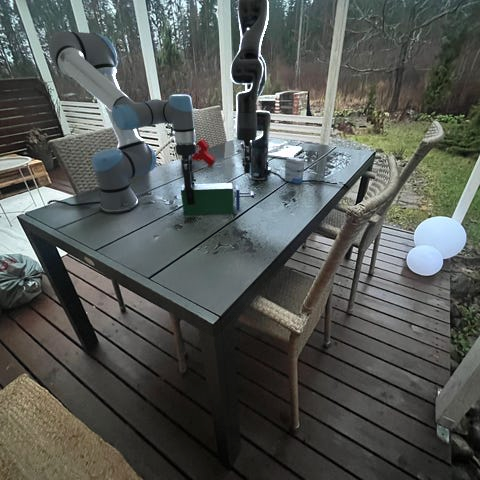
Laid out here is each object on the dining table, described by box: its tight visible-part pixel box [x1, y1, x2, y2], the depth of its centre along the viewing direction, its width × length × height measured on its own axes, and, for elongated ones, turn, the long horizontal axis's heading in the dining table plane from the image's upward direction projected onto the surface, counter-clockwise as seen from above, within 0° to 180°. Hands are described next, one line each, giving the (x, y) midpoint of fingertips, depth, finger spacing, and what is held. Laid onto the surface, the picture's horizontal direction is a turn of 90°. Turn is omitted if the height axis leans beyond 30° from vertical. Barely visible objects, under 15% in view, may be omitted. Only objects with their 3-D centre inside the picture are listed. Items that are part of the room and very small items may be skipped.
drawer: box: [235, 185, 255, 212], centre depth 112 cm, size 25×5×9 cm, turn 94°
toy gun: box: [181, 138, 216, 167], centre depth 167 cm, size 18×4×15 cm
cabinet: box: [180, 182, 234, 216], centre depth 112 cm, size 20×6×11 cm, turn 94°
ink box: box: [284, 156, 306, 185], centre depth 140 cm, size 8×5×12 cm, turn 47°
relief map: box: [268, 138, 304, 160], centre depth 192 cm, size 27×35×5 cm
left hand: (191, 200), depth 112 cm, fingers closed on cabinet, 6 cm apart
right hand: (246, 169), depth 106 cm, fingers open, 8 cm apart
